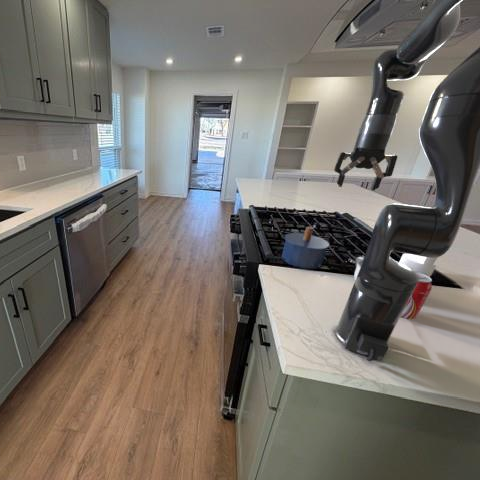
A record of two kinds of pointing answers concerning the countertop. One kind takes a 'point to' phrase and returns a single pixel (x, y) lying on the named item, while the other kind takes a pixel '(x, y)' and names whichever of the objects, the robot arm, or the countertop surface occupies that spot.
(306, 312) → the countertop surface
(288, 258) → the pot
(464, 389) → the countertop surface
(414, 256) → the cylinder with rectangular tab
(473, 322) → the countertop surface
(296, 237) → the pot lid
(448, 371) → the countertop surface
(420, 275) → the soda can
